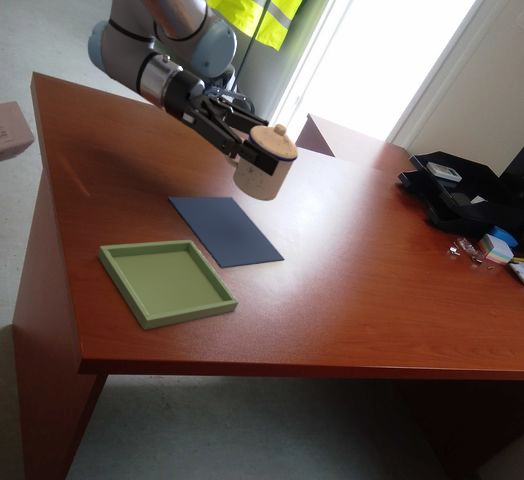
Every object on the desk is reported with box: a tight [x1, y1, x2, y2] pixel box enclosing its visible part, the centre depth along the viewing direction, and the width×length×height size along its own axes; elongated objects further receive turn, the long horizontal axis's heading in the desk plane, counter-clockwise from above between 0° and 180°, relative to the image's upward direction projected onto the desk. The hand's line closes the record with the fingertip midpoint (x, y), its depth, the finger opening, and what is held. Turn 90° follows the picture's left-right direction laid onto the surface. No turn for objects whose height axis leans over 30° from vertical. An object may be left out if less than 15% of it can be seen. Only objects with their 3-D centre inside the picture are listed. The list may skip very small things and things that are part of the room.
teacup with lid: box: [224, 123, 299, 202], centre depth 79 cm, size 12×9×12 cm
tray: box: [97, 239, 239, 331], centre depth 72 cm, size 16×17×2 cm
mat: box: [167, 196, 285, 269], centre depth 90 cm, size 20×16×1 cm
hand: (285, 160), depth 78 cm, fingers closed on teacup with lid, 9 cm apart
